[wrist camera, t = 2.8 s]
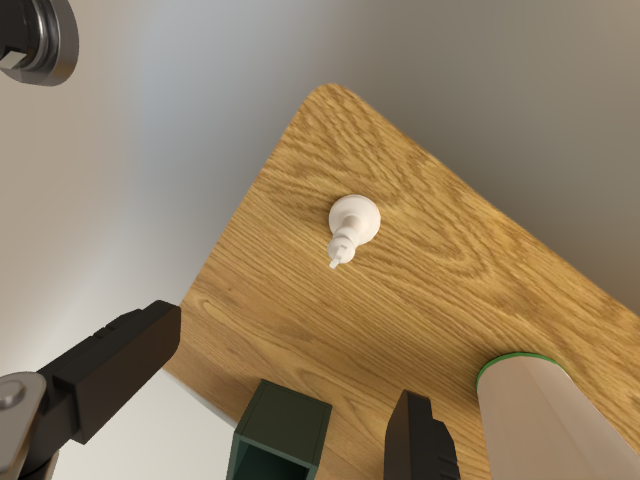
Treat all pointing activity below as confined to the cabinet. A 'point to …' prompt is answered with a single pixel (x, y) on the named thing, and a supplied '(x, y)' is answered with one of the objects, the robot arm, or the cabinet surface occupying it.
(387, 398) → the cabinet surface
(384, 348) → the cabinet surface
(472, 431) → the cabinet surface
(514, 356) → the cup
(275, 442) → the bin
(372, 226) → the chess piece
